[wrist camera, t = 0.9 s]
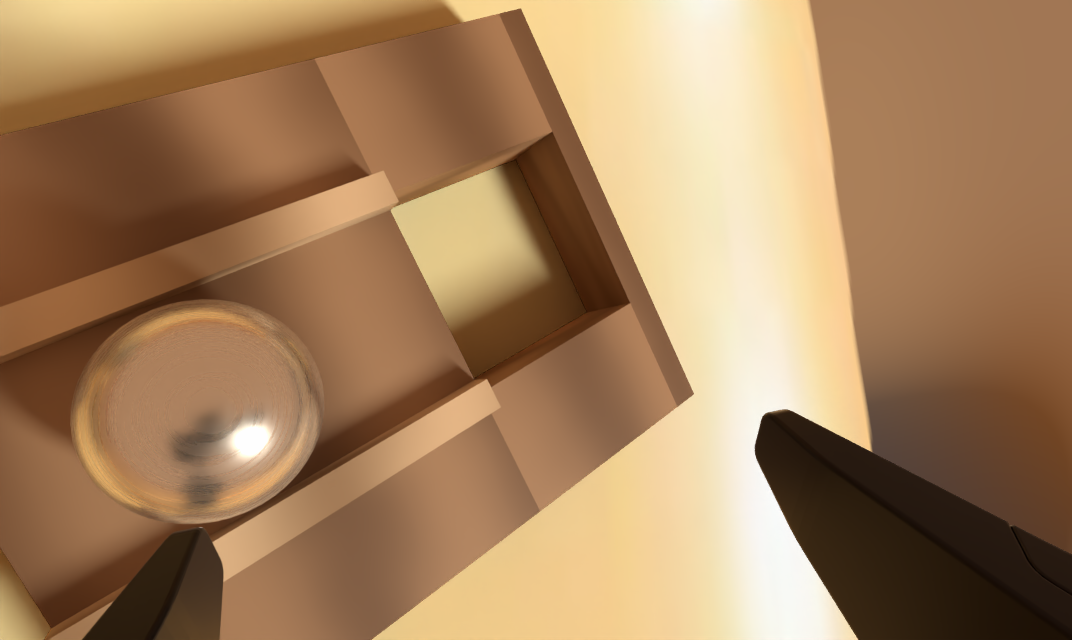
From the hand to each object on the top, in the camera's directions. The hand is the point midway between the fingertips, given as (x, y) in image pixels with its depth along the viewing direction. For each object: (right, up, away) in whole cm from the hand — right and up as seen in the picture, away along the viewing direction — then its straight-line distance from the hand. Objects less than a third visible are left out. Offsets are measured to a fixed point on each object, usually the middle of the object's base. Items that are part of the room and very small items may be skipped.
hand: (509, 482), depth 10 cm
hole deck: (-6, +2, +11) cm, 13 cm away
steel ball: (-7, +1, +4) cm, 8 cm away
